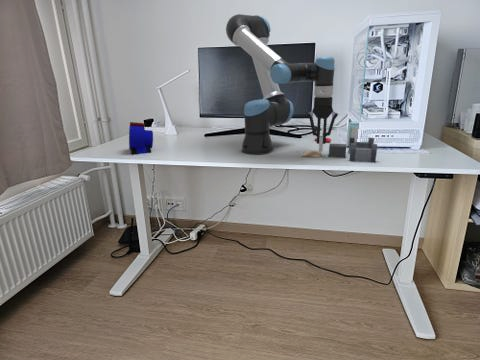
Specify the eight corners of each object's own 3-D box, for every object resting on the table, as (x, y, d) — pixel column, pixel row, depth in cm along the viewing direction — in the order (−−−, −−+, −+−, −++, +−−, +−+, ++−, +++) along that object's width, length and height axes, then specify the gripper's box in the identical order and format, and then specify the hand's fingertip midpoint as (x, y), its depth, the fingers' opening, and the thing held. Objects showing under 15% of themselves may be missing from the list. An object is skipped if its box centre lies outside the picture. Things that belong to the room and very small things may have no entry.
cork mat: (301, 156, 139) (301, 155, 139) (303, 152, 146) (303, 150, 146) (320, 157, 137) (320, 156, 137) (321, 152, 144) (321, 151, 144)
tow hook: (314, 139, 171) (315, 143, 162) (315, 115, 167) (316, 117, 158) (330, 139, 169) (332, 143, 161) (331, 115, 165) (333, 117, 157)
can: (353, 144, 156) (355, 120, 152) (365, 147, 150) (367, 122, 146) (343, 146, 153) (345, 122, 149) (354, 149, 147) (356, 124, 143)
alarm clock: (129, 149, 163) (124, 120, 158) (153, 146, 167) (149, 118, 162) (130, 155, 152) (125, 124, 147) (156, 152, 156) (152, 122, 151)
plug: (328, 157, 137) (329, 146, 136) (329, 154, 142) (329, 143, 140) (345, 158, 135) (346, 146, 134) (345, 155, 140) (346, 144, 138)
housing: (349, 160, 131) (351, 144, 128) (348, 152, 143) (349, 137, 141) (375, 162, 128) (377, 145, 126) (371, 152, 141) (373, 137, 138)
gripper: (306, 97, 130) (305, 152, 138) (339, 97, 126) (335, 153, 134) (308, 95, 137) (306, 148, 145) (339, 95, 133) (335, 149, 141)
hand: (320, 150), depth 140 cm, fingers closed
